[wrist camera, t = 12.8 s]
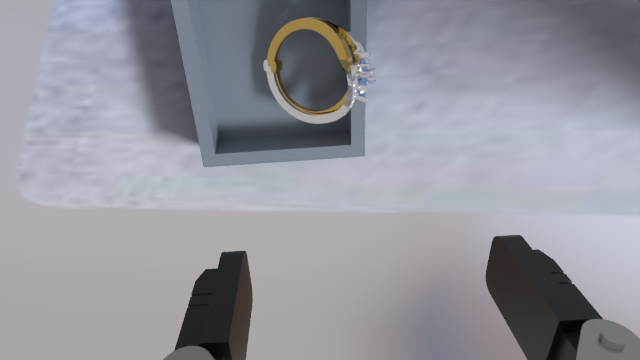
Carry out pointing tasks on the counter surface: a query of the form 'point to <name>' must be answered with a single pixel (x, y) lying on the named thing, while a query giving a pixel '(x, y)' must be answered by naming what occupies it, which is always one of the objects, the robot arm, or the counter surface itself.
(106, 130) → the counter surface
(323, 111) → the ring
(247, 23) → the dish
